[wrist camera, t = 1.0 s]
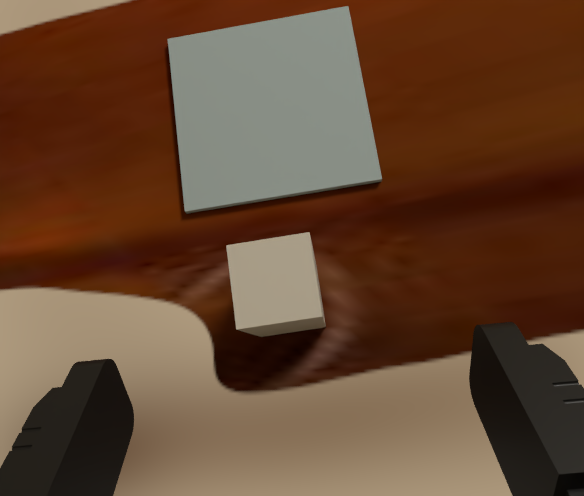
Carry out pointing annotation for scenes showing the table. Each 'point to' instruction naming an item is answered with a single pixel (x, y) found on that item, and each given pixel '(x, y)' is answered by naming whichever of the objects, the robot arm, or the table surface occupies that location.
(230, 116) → the tile
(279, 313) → the beige block
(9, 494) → the robot arm
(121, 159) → the table surface
